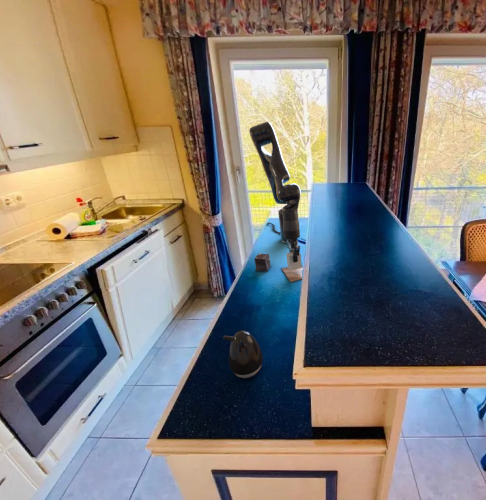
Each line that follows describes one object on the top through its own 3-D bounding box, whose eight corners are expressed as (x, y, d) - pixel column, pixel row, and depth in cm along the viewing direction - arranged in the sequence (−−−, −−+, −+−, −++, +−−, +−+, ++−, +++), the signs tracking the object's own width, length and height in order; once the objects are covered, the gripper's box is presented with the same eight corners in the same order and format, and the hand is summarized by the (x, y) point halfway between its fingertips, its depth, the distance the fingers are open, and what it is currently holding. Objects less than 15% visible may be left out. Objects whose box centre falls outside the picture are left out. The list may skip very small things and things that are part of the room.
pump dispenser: (234, 358, 93) (226, 322, 86) (266, 356, 93) (260, 320, 86) (227, 384, 84) (218, 347, 77) (262, 382, 84) (255, 344, 77)
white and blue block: (290, 270, 137) (288, 254, 133) (287, 267, 140) (286, 250, 136) (301, 268, 139) (300, 251, 135) (298, 264, 142) (297, 248, 138)
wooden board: (281, 269, 145) (281, 268, 145) (299, 264, 148) (299, 264, 148) (290, 282, 133) (290, 281, 133) (309, 277, 137) (309, 276, 137)
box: (266, 271, 143) (265, 259, 140) (255, 271, 144) (253, 258, 141) (270, 266, 148) (269, 253, 145) (260, 265, 149) (258, 253, 146)
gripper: (279, 224, 134) (282, 255, 142) (288, 234, 123) (291, 268, 130) (293, 221, 137) (296, 252, 145) (304, 231, 125) (306, 264, 133)
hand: (294, 259), depth 137 cm, fingers closed on white and blue block, 4 cm apart
